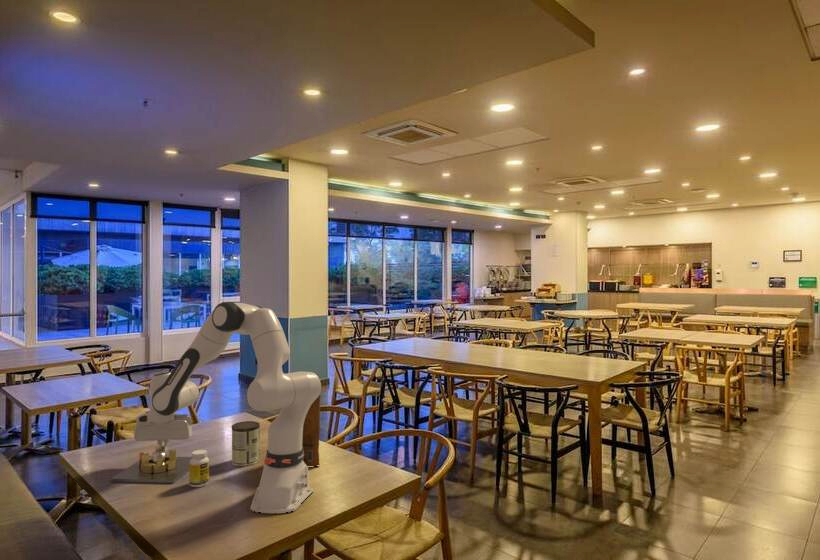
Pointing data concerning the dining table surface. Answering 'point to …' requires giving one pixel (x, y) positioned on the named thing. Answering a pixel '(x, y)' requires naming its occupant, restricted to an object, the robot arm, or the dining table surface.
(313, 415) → the pancake mix bag
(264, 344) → the robot arm
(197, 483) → the pill bottle
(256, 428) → the coffee can
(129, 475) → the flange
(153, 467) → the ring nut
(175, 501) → the dining table surface
